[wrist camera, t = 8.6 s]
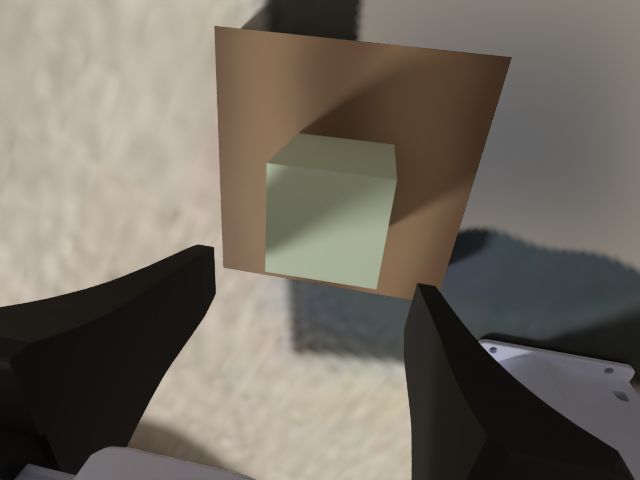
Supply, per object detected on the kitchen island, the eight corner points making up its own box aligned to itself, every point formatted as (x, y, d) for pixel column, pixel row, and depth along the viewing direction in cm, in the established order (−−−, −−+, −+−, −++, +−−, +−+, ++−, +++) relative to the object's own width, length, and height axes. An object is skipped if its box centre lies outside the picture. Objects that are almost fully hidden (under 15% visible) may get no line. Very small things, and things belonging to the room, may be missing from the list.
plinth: (492, 55, 17) (511, 57, 14) (430, 274, 23) (435, 303, 20) (239, 29, 18) (214, 25, 15) (241, 243, 24) (223, 267, 21)
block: (394, 144, 16) (397, 180, 12) (378, 232, 18) (376, 289, 14) (297, 132, 17) (266, 163, 12) (293, 219, 19) (265, 271, 15)
